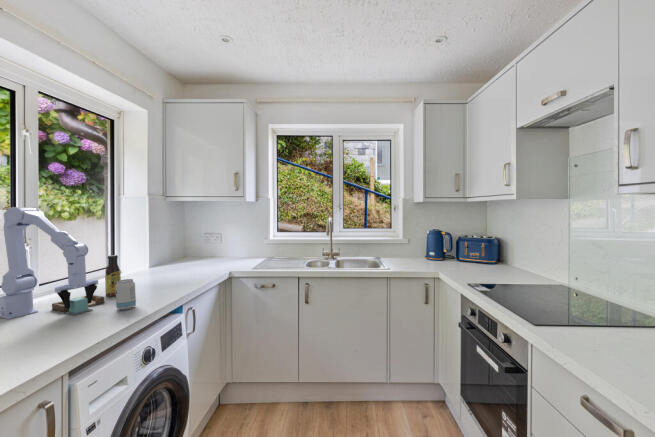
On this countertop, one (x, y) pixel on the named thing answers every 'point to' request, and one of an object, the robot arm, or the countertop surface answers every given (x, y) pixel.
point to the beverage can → (125, 294)
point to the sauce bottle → (112, 276)
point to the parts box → (60, 305)
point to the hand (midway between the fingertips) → (78, 305)
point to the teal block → (78, 305)
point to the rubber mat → (78, 313)
